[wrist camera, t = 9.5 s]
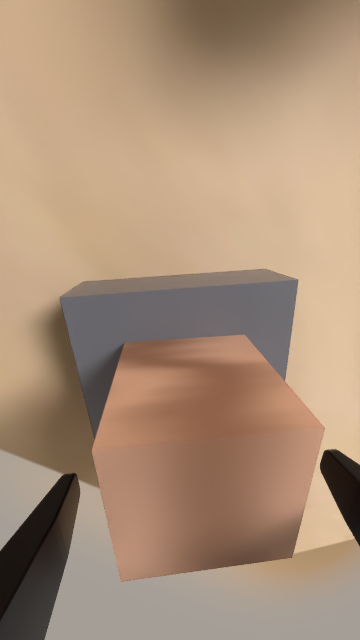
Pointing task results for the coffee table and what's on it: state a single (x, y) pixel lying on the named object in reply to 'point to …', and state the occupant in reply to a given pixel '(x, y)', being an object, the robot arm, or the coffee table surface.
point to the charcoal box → (174, 319)
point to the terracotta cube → (202, 457)
